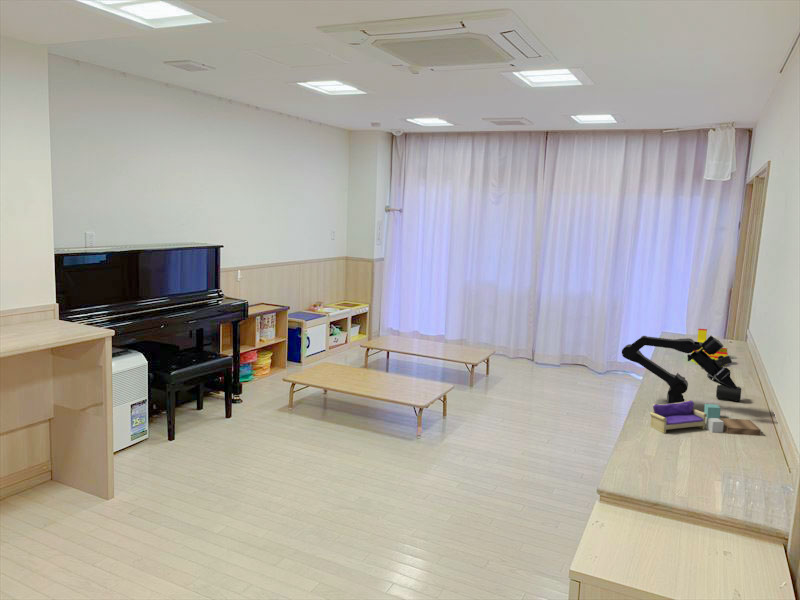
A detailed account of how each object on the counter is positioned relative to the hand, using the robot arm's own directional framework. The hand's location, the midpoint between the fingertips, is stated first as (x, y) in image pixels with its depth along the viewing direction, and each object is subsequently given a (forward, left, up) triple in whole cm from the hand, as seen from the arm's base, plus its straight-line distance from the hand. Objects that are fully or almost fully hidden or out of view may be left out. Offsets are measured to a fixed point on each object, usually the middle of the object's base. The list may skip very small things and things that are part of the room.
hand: (733, 388), depth 265 cm
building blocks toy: (+20, +107, -13) cm, 109 cm away
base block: (-3, -18, -13) cm, 23 cm away
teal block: (-9, -3, -13) cm, 16 cm away
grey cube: (-13, -21, -13) cm, 28 cm away
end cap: (+6, +25, -13) cm, 29 cm away
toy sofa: (-27, -21, -13) cm, 37 cm away
